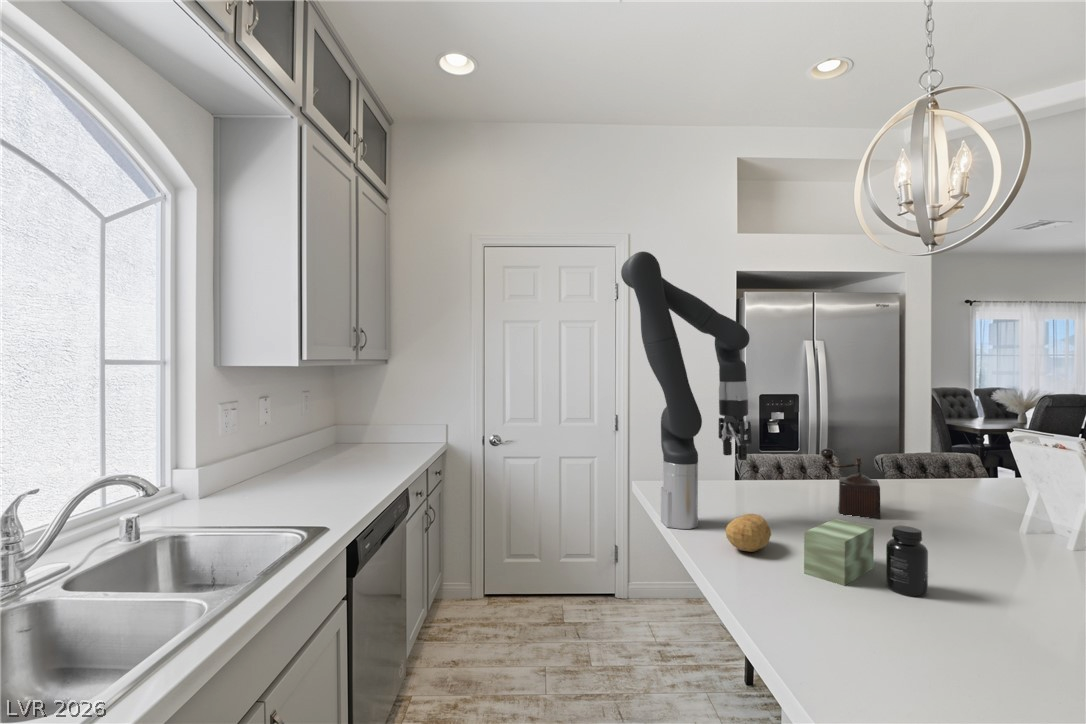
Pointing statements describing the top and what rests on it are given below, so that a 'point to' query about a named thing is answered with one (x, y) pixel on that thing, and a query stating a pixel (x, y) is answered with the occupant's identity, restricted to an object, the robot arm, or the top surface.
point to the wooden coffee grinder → (856, 490)
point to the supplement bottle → (907, 562)
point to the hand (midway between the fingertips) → (734, 457)
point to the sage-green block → (838, 551)
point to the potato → (748, 532)
